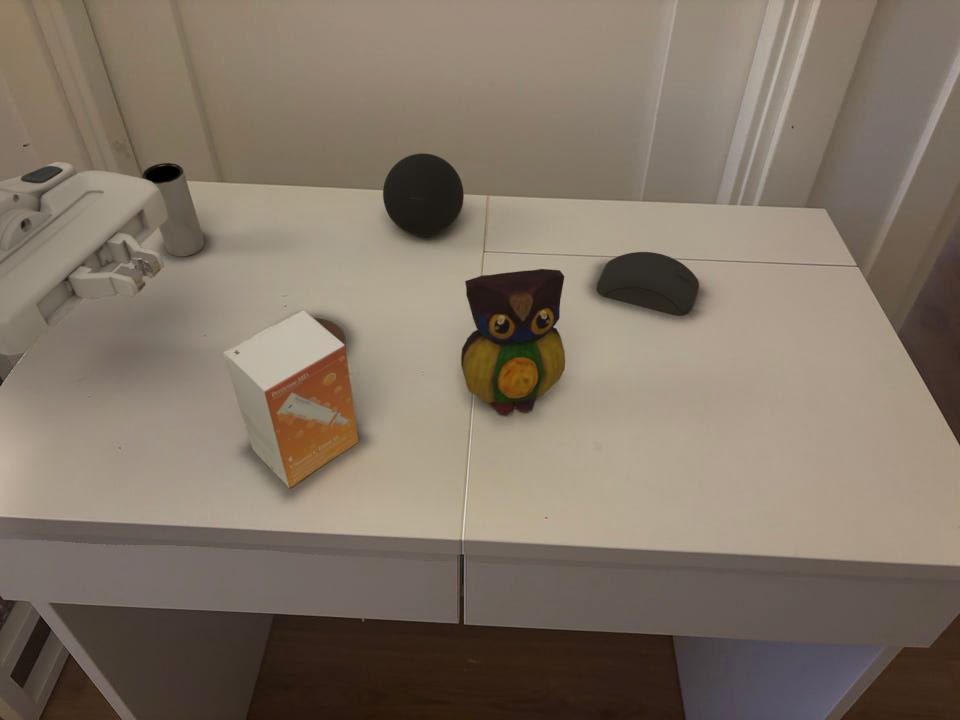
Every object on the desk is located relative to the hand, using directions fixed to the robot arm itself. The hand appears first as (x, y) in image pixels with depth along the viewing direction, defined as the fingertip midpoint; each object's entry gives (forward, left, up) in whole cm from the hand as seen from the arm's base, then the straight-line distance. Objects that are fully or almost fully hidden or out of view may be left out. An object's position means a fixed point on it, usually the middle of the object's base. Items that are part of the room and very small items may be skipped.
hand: (148, 274), depth 60 cm
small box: (+5, -10, -18) cm, 21 cm away
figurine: (+23, -20, -18) cm, 35 cm away
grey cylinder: (+15, +26, -18) cm, 35 cm away
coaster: (+14, +1, -18) cm, 23 cm away
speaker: (+38, +7, -18) cm, 42 cm away
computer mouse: (+47, -21, -18) cm, 54 cm away
